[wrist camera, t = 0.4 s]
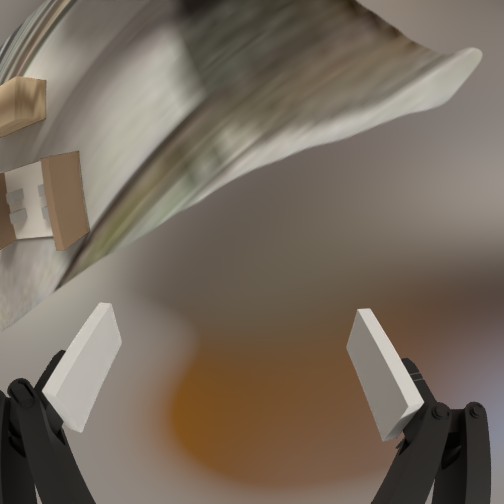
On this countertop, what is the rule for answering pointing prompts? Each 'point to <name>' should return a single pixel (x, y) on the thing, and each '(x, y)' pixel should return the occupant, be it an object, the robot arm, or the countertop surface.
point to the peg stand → (44, 201)
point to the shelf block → (21, 103)
